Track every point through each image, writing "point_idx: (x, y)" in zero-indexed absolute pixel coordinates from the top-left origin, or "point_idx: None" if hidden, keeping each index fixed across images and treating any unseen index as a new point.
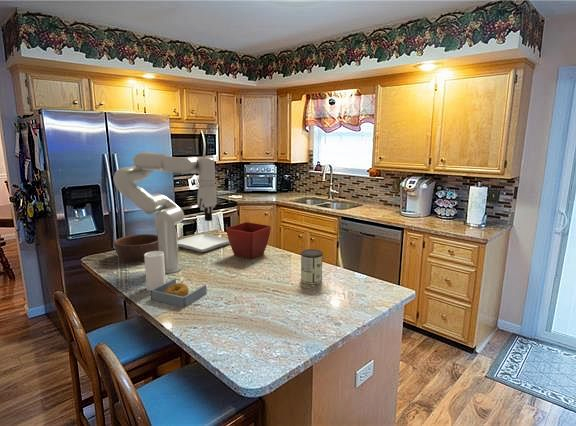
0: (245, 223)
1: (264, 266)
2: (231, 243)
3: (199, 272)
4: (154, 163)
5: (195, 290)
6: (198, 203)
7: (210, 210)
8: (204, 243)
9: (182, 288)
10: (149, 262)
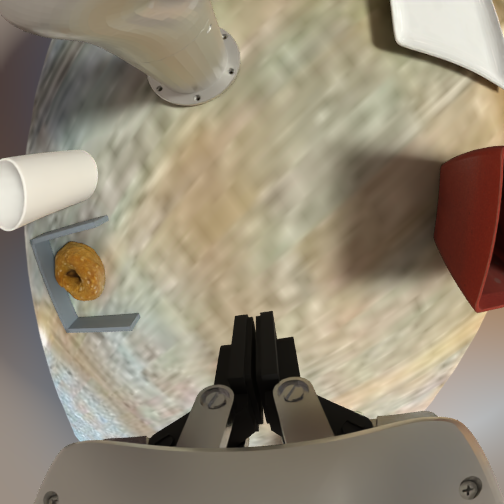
0: None
1: (392, 315)
2: (461, 167)
3: (235, 176)
4: None
5: (97, 329)
6: (54, 493)
7: (283, 441)
8: (455, 7)
9: (81, 294)
10: (3, 206)
